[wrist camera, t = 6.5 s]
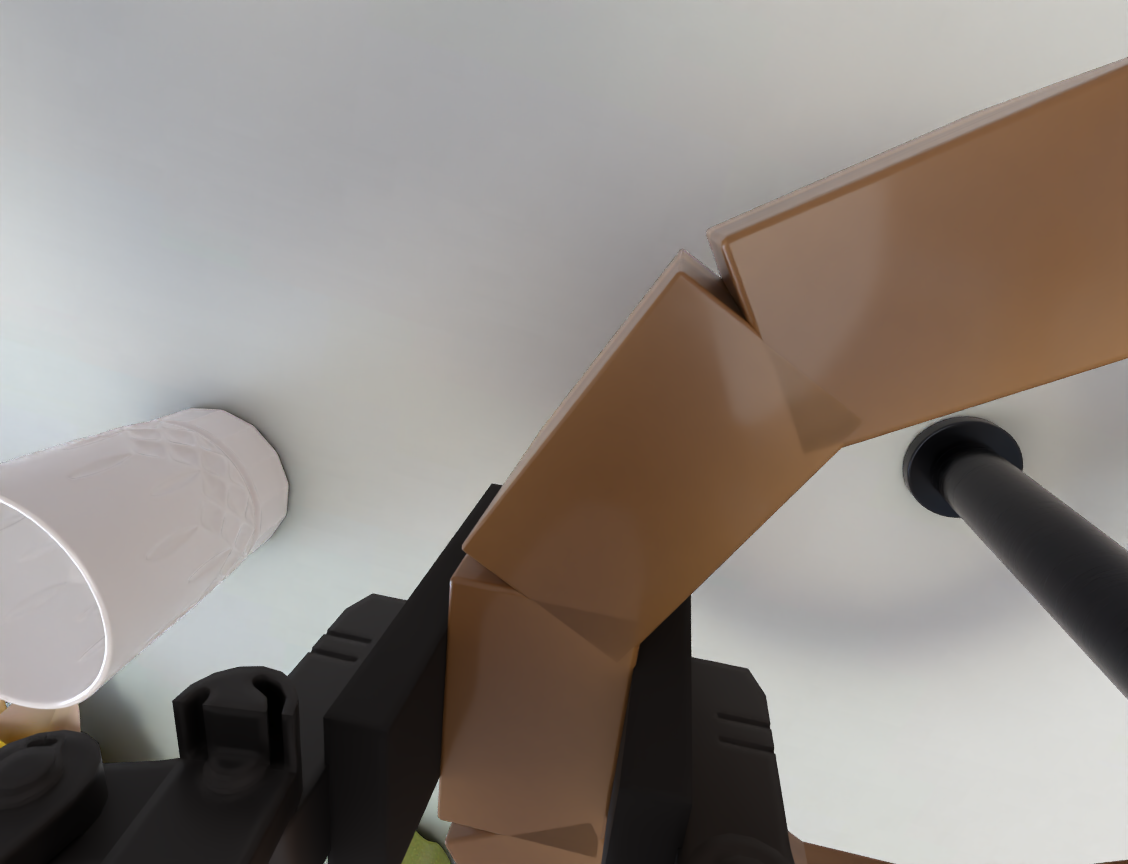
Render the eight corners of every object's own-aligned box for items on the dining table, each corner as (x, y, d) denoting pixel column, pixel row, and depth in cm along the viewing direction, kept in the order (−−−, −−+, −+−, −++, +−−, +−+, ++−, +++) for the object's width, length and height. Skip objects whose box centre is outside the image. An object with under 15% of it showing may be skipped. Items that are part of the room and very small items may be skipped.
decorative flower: (219, 897, 35) (6, 1114, 26) (108, 855, 40) (-100, 1025, 32) (123, 658, 32) (-152, 815, 24) (16, 647, 37) (-240, 772, 29)
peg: (919, 408, 22) (1425, 821, 7) (1030, 424, 21) (1842, 910, 6) (890, 501, 23) (1266, 1028, 8) (995, 519, 23) (1607, 1116, 8)
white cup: (324, 446, 27) (131, 565, 18) (277, 584, 30) (88, 750, 20) (163, 361, 27) (-114, 435, 18) (130, 506, 30) (-122, 636, 21)
